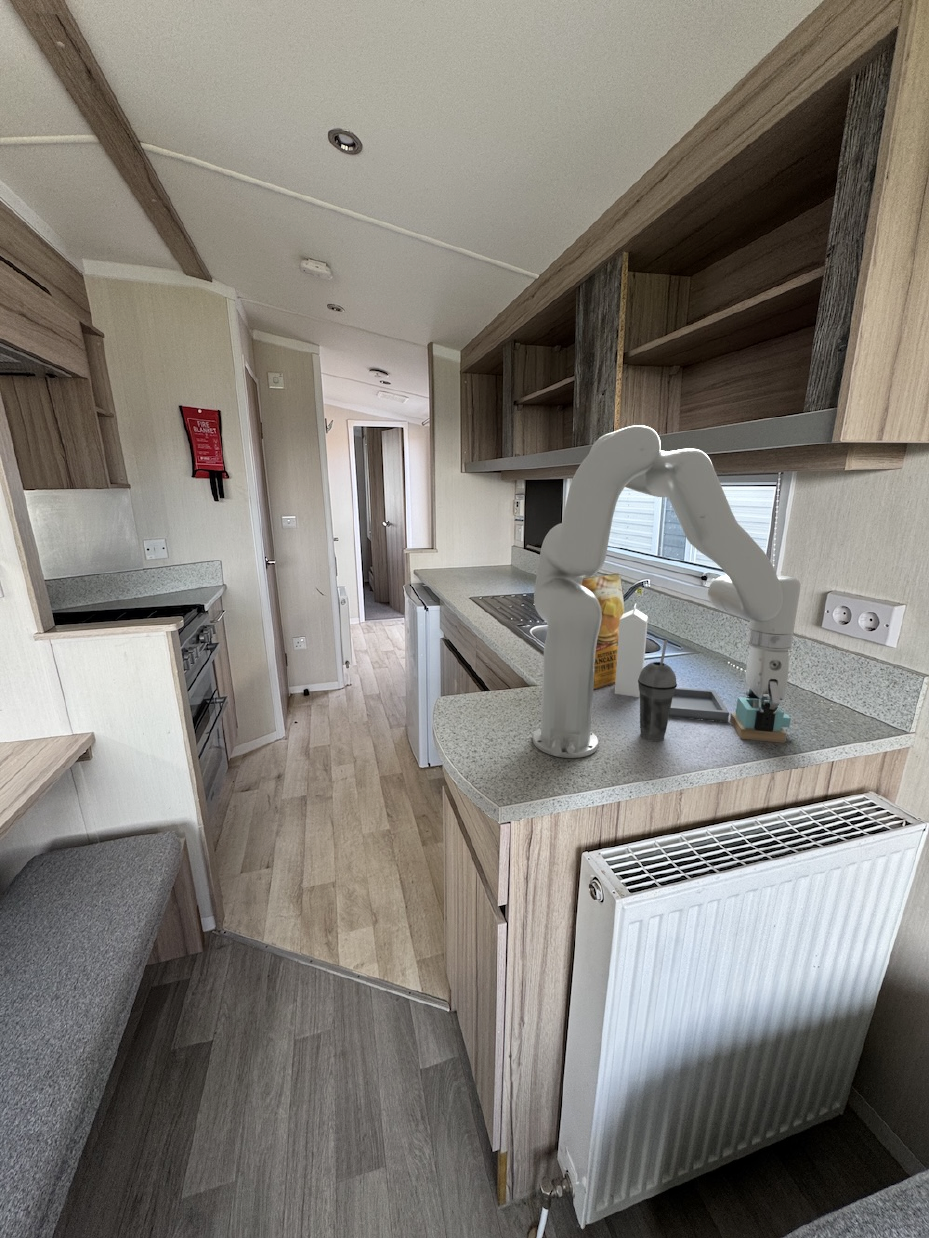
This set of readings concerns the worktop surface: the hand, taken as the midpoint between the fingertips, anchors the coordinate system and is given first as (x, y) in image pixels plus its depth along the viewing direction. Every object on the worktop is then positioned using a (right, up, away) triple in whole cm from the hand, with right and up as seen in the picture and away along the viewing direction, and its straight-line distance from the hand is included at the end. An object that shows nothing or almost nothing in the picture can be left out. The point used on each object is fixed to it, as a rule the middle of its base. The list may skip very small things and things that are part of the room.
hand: (757, 721), depth 104 cm
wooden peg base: (0, -2, +1) cm, 2 cm away
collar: (+1, 0, 0) cm, 1 cm away
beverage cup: (-22, -3, -1) cm, 22 cm away
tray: (-8, +1, +12) cm, 15 cm away
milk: (-19, +3, +22) cm, 30 cm away
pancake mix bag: (-25, +4, +28) cm, 38 cm away
